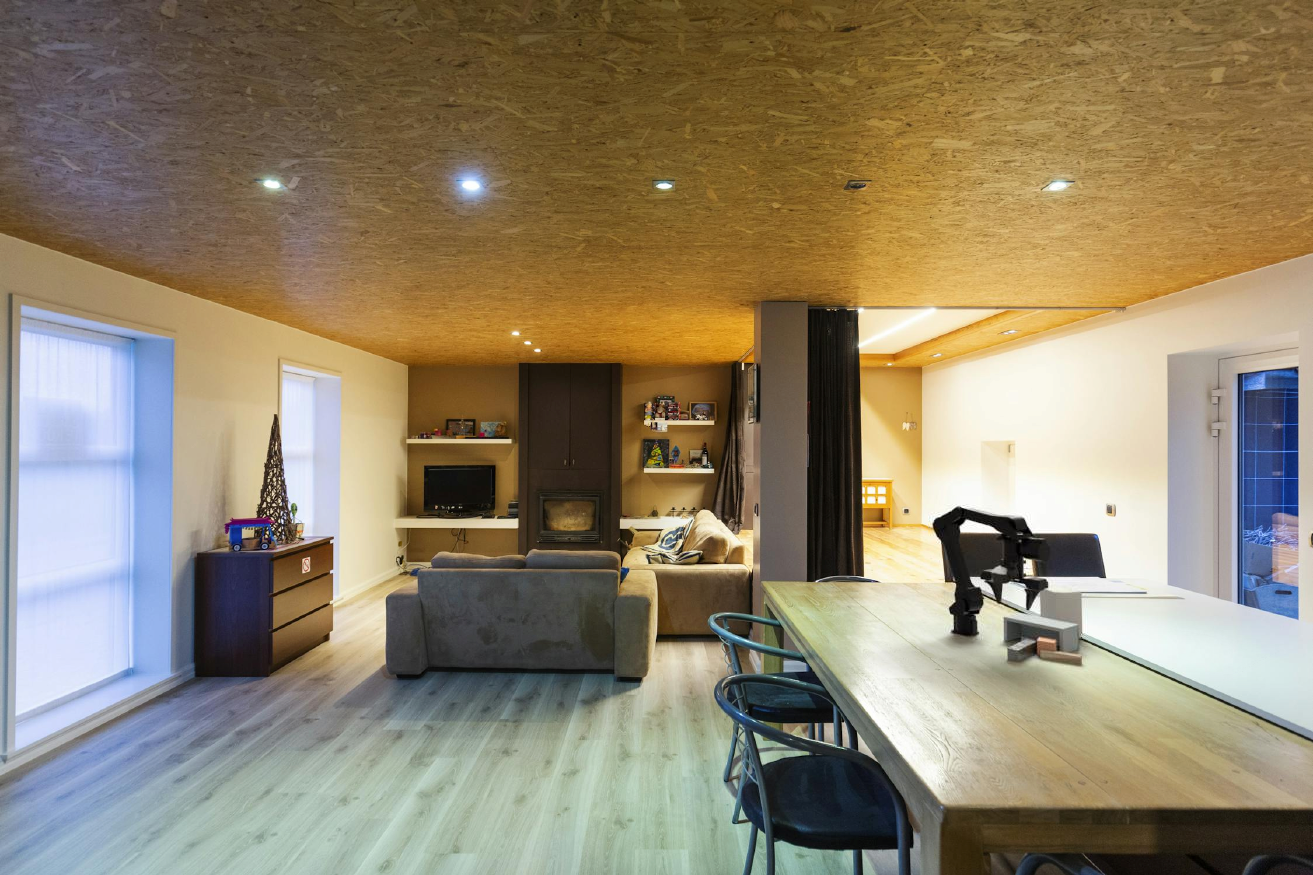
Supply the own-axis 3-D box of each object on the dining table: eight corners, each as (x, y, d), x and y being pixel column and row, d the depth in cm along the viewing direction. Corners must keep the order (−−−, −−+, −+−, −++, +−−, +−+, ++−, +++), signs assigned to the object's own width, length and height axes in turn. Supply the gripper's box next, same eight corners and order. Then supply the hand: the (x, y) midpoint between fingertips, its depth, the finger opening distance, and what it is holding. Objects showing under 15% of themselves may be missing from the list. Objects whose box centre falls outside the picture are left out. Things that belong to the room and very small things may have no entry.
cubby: (1003, 640, 211) (1003, 616, 211) (1020, 635, 216) (1019, 612, 216) (1063, 654, 196) (1062, 628, 196) (1079, 649, 201) (1078, 624, 201)
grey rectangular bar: (1026, 664, 187) (1025, 651, 187) (1000, 658, 192) (1000, 646, 193) (1048, 651, 199) (1047, 640, 199) (1023, 646, 204) (1023, 635, 204)
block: (1037, 655, 195) (1037, 640, 195) (1039, 651, 199) (1039, 636, 199) (1054, 658, 192) (1054, 642, 193) (1056, 654, 196) (1056, 639, 196)
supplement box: (1083, 638, 212) (1082, 592, 213) (1055, 638, 212) (1054, 592, 213) (1066, 631, 221) (1065, 586, 222) (1039, 631, 221) (1039, 586, 222)
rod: (1081, 665, 186) (1080, 656, 186) (1040, 659, 192) (1040, 650, 192) (1082, 663, 188) (1081, 654, 188) (1041, 657, 194) (1041, 648, 194)
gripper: (969, 554, 208) (969, 603, 208) (1028, 563, 192) (1028, 617, 192) (990, 551, 214) (990, 599, 214) (1049, 560, 198) (1049, 612, 198)
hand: (1013, 606), depth 204 cm, fingers open, 9 cm apart
